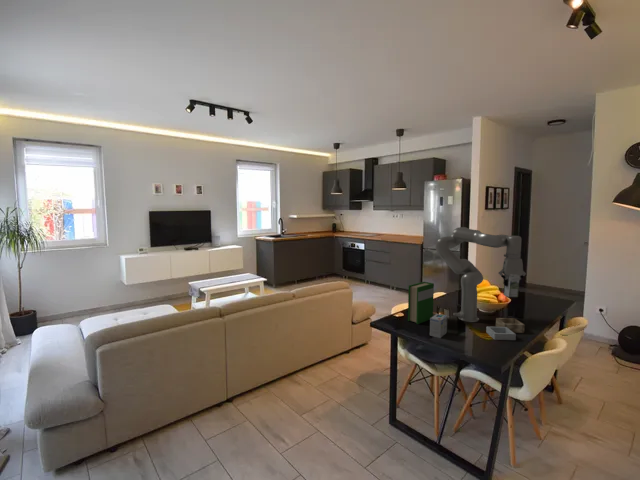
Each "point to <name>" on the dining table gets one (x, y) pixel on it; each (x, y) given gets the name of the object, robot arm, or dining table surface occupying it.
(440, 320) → the light bulb box
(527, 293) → the dining table surface
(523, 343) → the dining table surface
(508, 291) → the syrup box
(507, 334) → the seat block
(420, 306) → the hardback book
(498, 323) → the brown square tray
